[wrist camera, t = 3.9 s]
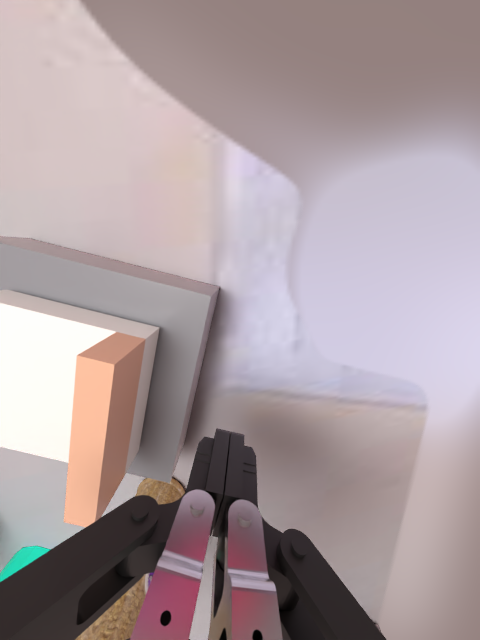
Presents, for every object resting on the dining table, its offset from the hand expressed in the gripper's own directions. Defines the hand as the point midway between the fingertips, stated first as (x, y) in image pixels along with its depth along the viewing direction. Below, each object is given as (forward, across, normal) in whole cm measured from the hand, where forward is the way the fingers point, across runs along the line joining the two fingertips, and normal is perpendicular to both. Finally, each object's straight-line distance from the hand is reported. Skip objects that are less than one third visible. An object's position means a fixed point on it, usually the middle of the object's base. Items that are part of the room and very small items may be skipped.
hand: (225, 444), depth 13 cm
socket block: (+7, +10, 0) cm, 12 cm away
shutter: (+3, +10, 0) cm, 10 cm away
